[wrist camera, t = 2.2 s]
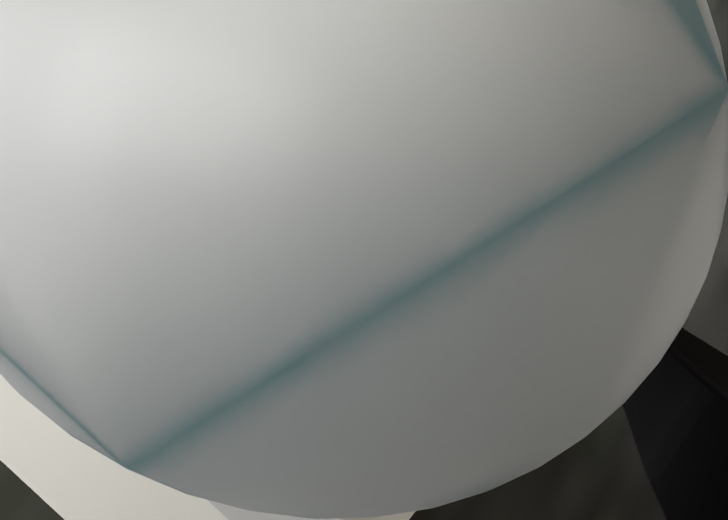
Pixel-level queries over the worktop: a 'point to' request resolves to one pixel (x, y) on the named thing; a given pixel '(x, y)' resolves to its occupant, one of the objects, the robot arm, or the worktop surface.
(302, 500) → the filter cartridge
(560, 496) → the worktop surface
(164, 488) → the white square stand
